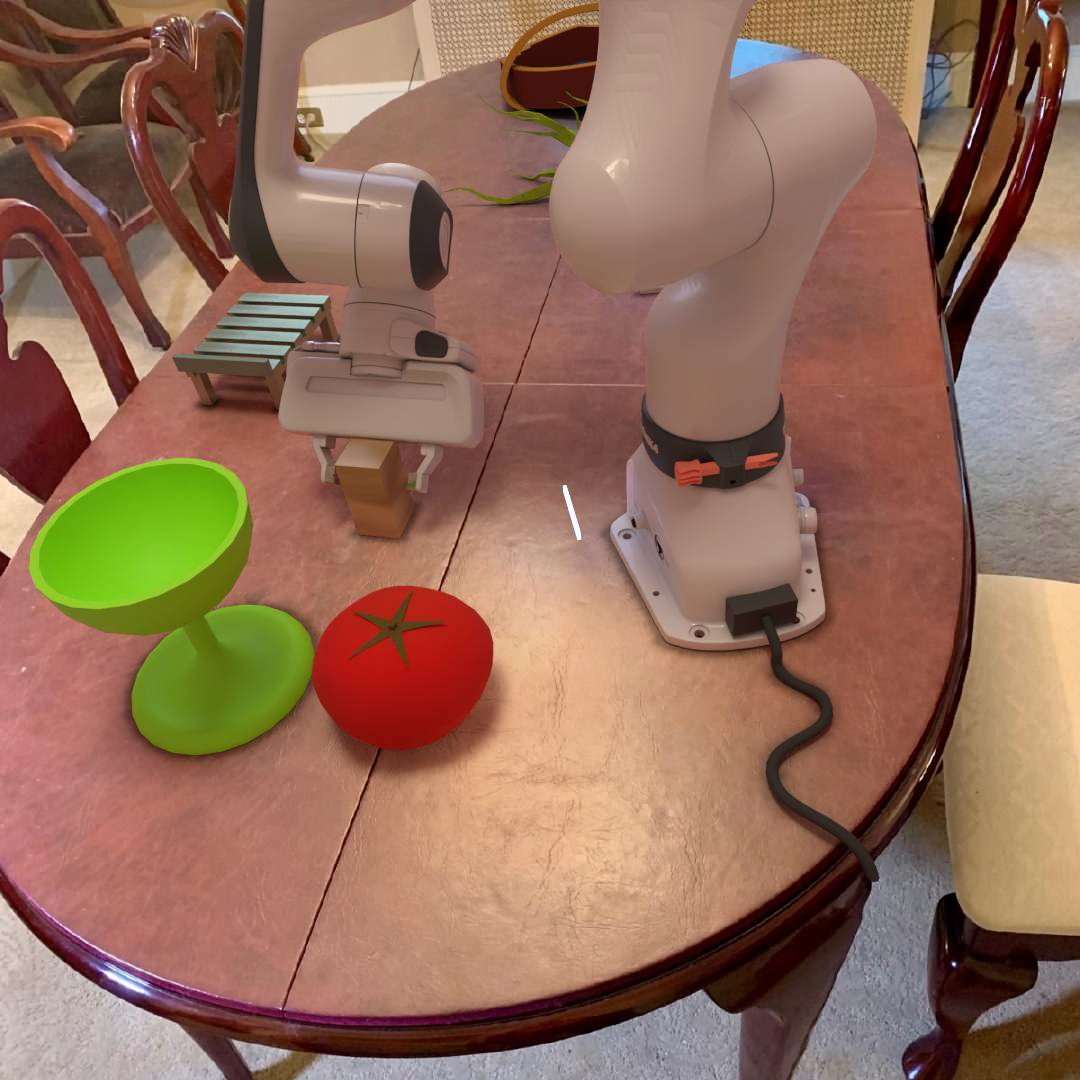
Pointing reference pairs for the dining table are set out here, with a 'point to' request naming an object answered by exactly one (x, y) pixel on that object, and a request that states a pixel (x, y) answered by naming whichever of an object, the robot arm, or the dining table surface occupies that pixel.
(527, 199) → the decorative plant
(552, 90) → the decorative basket
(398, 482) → the block
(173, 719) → the wineglass
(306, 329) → the rack
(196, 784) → the dining table surface
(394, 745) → the tomato
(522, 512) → the dining table surface
